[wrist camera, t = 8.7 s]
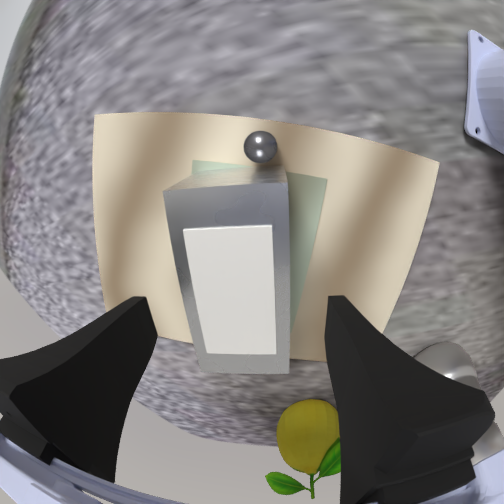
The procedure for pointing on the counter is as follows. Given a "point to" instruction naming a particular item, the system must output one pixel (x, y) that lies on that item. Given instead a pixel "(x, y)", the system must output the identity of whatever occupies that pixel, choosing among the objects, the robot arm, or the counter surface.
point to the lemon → (307, 444)
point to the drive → (234, 266)
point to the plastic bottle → (462, 370)
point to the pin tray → (300, 212)
